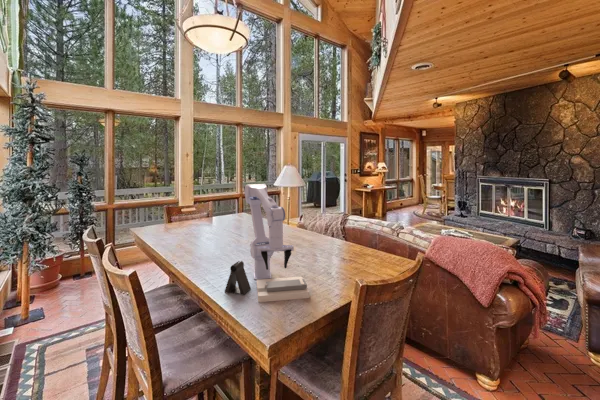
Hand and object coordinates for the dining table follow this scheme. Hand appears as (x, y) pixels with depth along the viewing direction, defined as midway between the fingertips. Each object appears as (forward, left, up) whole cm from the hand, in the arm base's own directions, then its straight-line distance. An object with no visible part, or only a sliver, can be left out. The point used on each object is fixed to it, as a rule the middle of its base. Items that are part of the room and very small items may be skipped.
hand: (276, 268), depth 121 cm
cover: (+5, +3, -7) cm, 9 cm away
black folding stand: (-2, -16, -10) cm, 19 cm away
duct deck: (+2, +2, -9) cm, 10 cm away
